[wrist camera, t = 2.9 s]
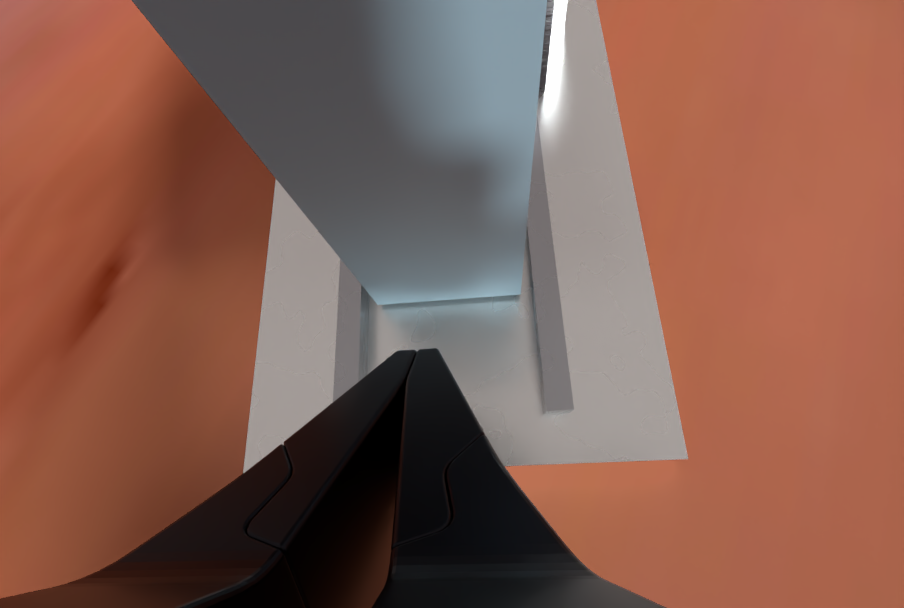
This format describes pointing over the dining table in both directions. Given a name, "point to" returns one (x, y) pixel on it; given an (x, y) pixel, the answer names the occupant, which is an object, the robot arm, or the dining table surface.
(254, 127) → the light blue bar
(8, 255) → the dining table surface
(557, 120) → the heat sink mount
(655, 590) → the dining table surface
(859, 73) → the dining table surface
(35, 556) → the dining table surface
